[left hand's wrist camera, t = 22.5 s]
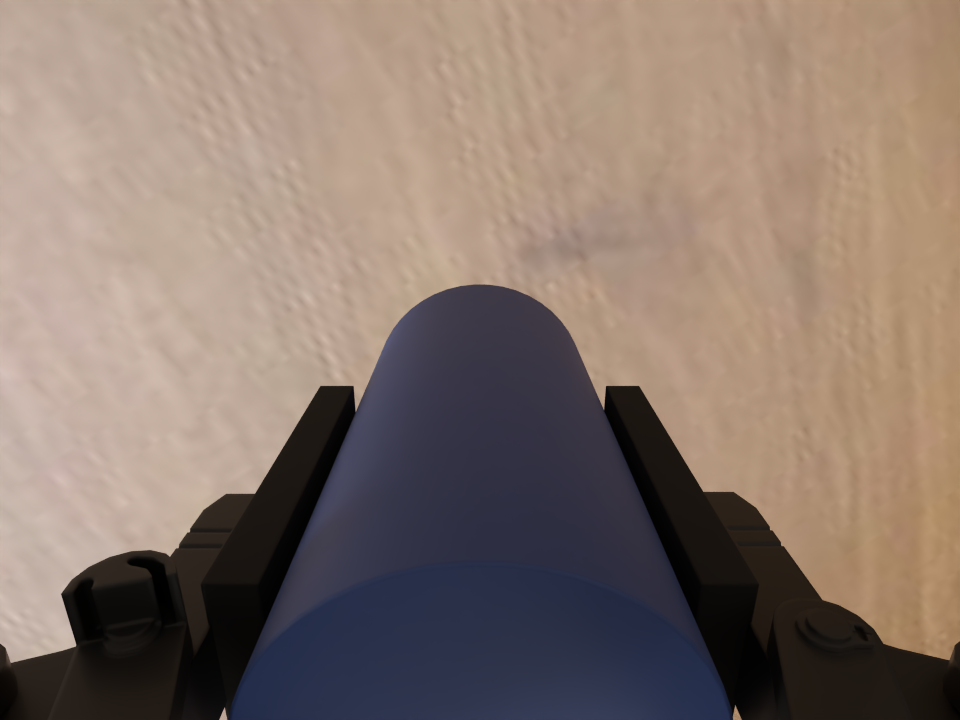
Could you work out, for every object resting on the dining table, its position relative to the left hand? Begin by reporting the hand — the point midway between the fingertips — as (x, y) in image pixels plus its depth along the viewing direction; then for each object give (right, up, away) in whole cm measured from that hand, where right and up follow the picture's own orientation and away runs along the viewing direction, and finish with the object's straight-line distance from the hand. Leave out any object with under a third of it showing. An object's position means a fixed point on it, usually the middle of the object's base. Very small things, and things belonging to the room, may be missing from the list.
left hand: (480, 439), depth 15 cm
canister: (0, +1, +3) cm, 3 cm away
